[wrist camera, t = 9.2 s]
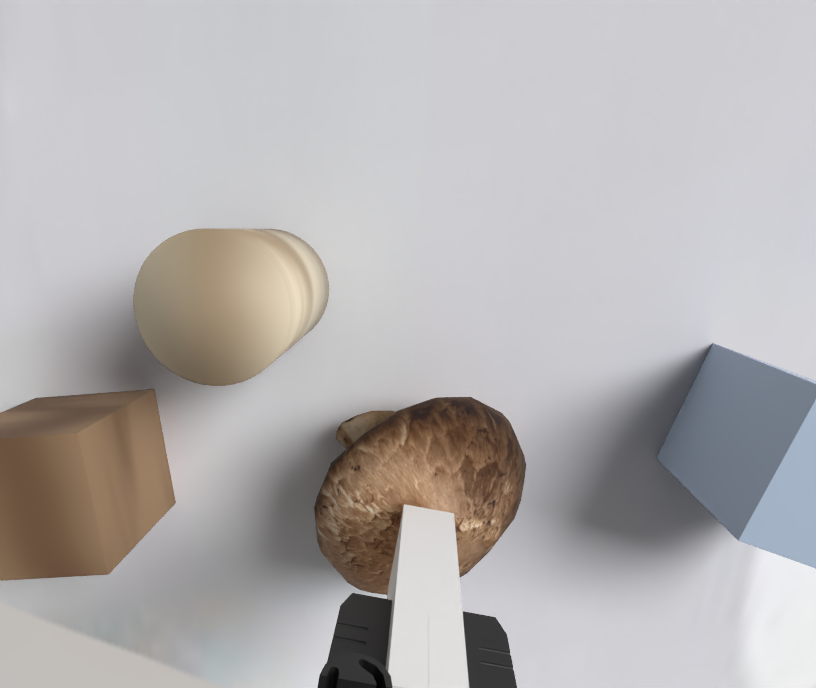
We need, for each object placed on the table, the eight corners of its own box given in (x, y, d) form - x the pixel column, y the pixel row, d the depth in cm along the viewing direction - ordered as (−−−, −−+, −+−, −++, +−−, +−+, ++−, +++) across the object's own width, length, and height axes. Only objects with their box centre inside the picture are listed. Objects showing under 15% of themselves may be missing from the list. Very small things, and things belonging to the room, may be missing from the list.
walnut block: (63, 509, 23) (-34, 582, 19) (37, 397, 22) (-72, 443, 18) (176, 502, 23) (108, 574, 18) (155, 388, 22) (77, 433, 17)
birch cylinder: (210, 332, 22) (128, 370, 16) (221, 219, 21) (139, 215, 15) (320, 352, 22) (279, 398, 16) (336, 240, 21) (299, 244, 15)
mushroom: (247, 411, 19) (313, 552, 14) (444, 311, 21) (555, 405, 16) (318, 535, 24) (382, 668, 19) (470, 444, 26) (560, 545, 21)
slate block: (655, 457, 22) (738, 540, 16) (712, 342, 21) (822, 386, 15) (770, 499, 22) (893, 595, 16) (831, 387, 21) (987, 447, 15)
